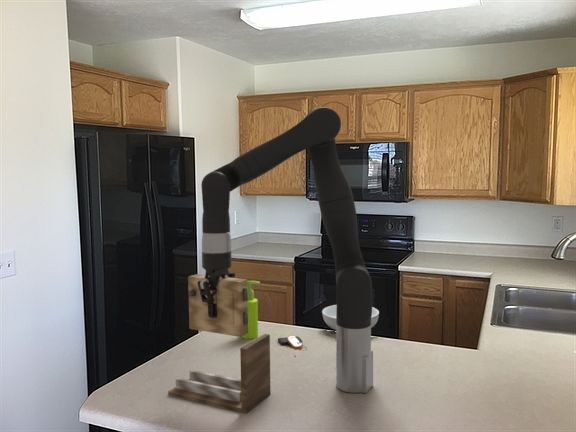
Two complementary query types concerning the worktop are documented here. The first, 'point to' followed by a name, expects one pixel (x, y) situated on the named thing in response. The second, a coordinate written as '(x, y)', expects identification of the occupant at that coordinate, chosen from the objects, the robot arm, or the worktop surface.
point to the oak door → (220, 307)
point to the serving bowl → (330, 316)
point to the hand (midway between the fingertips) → (217, 314)
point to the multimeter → (291, 342)
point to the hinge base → (232, 381)
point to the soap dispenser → (252, 313)
